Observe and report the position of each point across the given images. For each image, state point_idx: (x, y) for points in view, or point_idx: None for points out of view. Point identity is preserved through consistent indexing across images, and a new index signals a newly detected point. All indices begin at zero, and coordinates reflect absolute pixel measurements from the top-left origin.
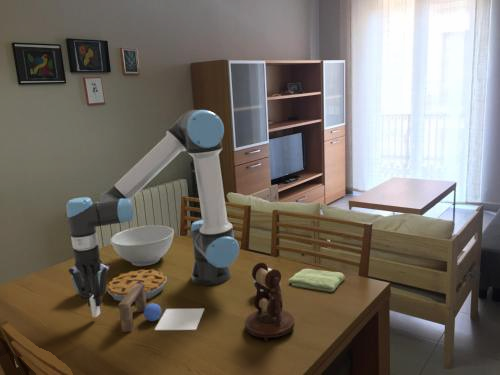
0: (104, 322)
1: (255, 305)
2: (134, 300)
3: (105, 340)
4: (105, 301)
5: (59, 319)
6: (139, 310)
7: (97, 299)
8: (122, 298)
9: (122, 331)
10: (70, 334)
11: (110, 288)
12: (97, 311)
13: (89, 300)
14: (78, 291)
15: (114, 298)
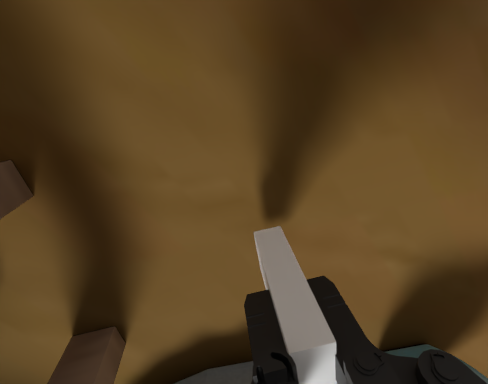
0: (210, 221)
1: None
2: (193, 377)
3: (31, 35)
4: None
5: (461, 195)
6: (97, 335)
7: (262, 350)
8: (241, 377)
9: (9, 161)
10: (335, 68)
11: None
12: (261, 263)
13: (336, 323)
14: None
15: None
